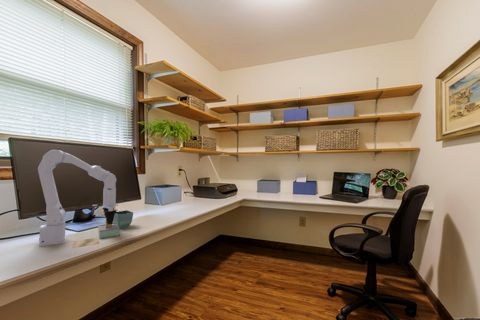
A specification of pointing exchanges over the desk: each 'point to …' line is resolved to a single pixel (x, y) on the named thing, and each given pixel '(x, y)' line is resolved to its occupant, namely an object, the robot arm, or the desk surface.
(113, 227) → the lid
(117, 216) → the flower pot
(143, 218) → the desk surface
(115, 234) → the dish
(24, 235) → the desk surface
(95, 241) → the mat
